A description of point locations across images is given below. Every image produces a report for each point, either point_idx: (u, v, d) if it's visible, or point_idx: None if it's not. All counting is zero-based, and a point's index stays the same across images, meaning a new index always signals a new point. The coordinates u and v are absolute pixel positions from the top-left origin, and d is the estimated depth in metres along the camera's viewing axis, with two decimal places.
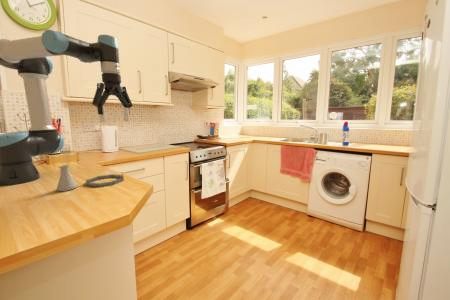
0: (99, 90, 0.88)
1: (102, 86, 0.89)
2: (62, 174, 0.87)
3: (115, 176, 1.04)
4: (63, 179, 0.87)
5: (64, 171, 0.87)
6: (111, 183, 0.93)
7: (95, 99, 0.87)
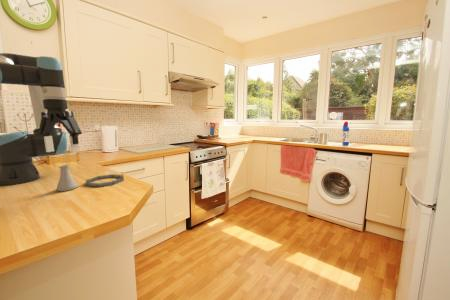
0: None
1: (42, 115, 0.85)
2: (62, 174, 0.87)
3: (115, 176, 1.04)
4: (63, 179, 0.87)
5: (64, 171, 0.87)
6: (111, 183, 0.93)
7: None
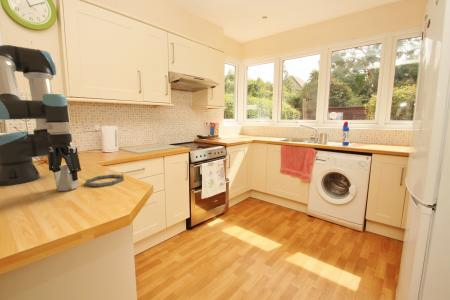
0: None
1: (48, 151, 0.87)
2: (62, 174, 0.87)
3: (115, 176, 1.04)
4: (63, 178, 0.87)
5: (64, 170, 0.87)
6: (111, 183, 0.93)
7: None
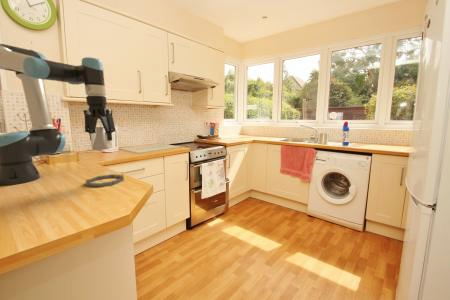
0: None
1: (85, 113, 0.94)
2: (98, 134, 0.94)
3: (115, 176, 1.04)
4: (99, 138, 0.93)
5: (99, 131, 0.94)
6: (111, 183, 0.93)
7: None
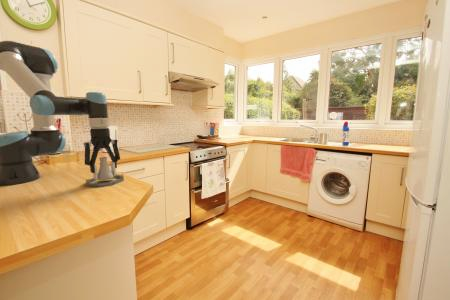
0: (86, 150, 0.91)
1: (87, 146, 0.90)
2: (105, 164, 0.97)
3: (115, 176, 1.04)
4: (108, 168, 0.97)
5: (106, 161, 0.97)
6: (111, 183, 0.93)
7: (85, 160, 0.91)
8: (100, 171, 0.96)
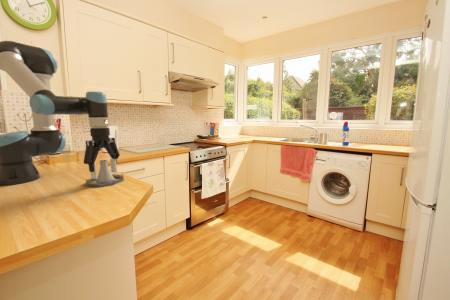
0: (89, 148, 0.89)
1: (91, 144, 0.89)
2: (107, 167, 0.97)
3: (115, 176, 1.04)
4: (109, 171, 0.98)
5: (106, 164, 0.98)
6: (111, 183, 0.93)
7: (86, 158, 0.89)
8: (102, 174, 0.96)
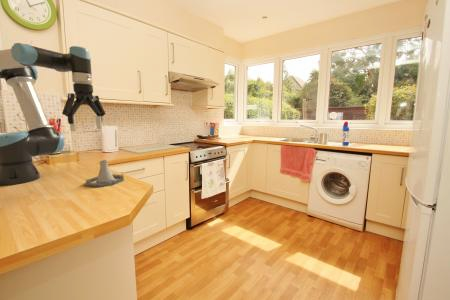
0: (69, 100, 0.91)
1: (73, 96, 0.91)
2: (107, 167, 0.97)
3: (115, 176, 1.04)
4: (109, 171, 0.98)
5: None
6: (111, 183, 0.93)
7: (65, 109, 0.90)
8: (102, 174, 0.96)
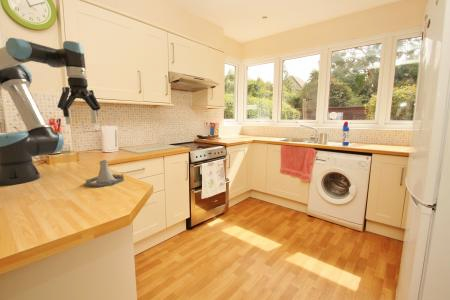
0: (64, 94, 0.93)
1: (67, 90, 0.93)
2: (107, 167, 0.97)
3: (115, 176, 1.04)
4: (109, 171, 0.98)
5: None
6: (111, 183, 0.93)
7: (60, 102, 0.91)
8: (102, 174, 0.96)
